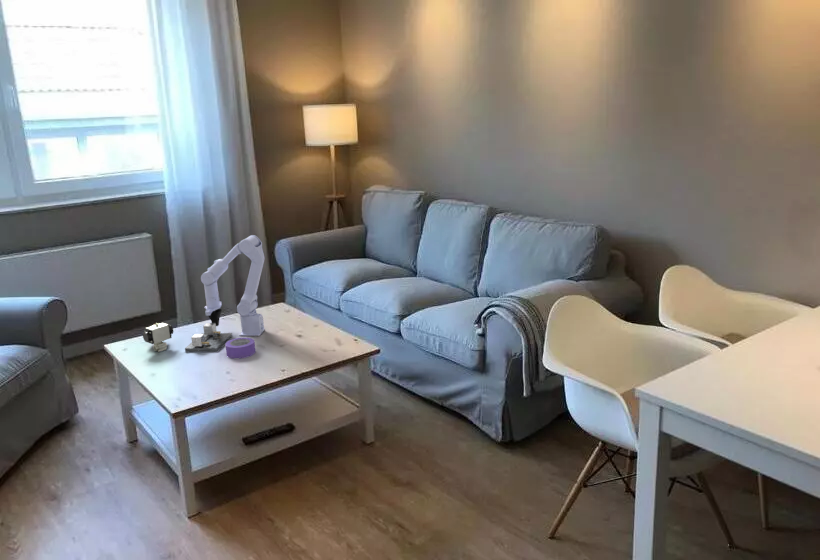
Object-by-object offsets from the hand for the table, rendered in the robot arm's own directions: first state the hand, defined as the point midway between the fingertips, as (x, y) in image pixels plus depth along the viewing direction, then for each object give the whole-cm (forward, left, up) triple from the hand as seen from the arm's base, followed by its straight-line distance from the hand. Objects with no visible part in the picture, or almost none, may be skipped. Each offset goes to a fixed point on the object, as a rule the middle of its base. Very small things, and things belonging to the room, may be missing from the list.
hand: (215, 325), depth 312 cm
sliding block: (-1, +7, -1) cm, 7 cm away
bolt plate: (-2, +14, -3) cm, 15 cm away
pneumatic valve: (+17, +21, -4) cm, 27 cm away
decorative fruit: (+21, +14, -4) cm, 25 cm away
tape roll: (-20, +25, -4) cm, 32 cm away
